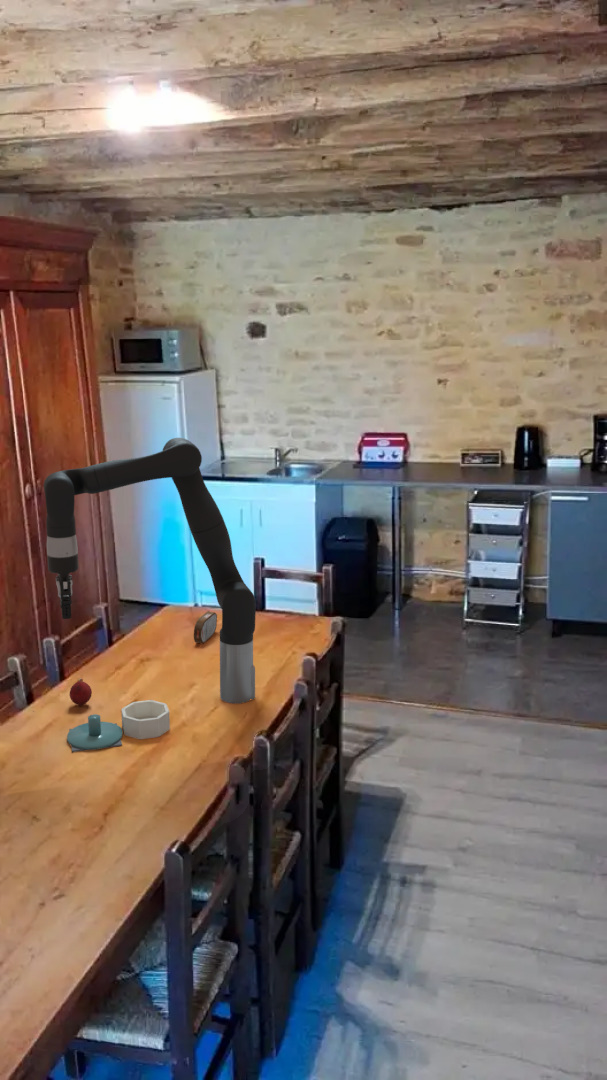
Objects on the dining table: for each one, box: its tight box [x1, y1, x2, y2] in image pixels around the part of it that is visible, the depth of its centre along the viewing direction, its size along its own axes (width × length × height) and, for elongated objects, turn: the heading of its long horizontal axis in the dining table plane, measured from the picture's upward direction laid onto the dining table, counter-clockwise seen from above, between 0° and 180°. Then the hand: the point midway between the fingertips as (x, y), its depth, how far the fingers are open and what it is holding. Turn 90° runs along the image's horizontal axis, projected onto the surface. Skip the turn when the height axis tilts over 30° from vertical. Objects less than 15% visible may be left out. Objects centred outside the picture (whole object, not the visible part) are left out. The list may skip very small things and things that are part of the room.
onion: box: [69, 677, 92, 707], centre depth 240 cm, size 6×6×8 cm
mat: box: [68, 722, 123, 753], centre depth 223 cm, size 12×12×1 cm
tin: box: [193, 610, 218, 644], centre depth 291 cm, size 15×3×8 cm, turn 164°
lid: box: [66, 713, 124, 751], centre depth 222 cm, size 14×14×5 cm
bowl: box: [120, 699, 171, 740], centre depth 228 cm, size 12×12×5 cm
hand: (65, 613), depth 227 cm, fingers open, 8 cm apart
